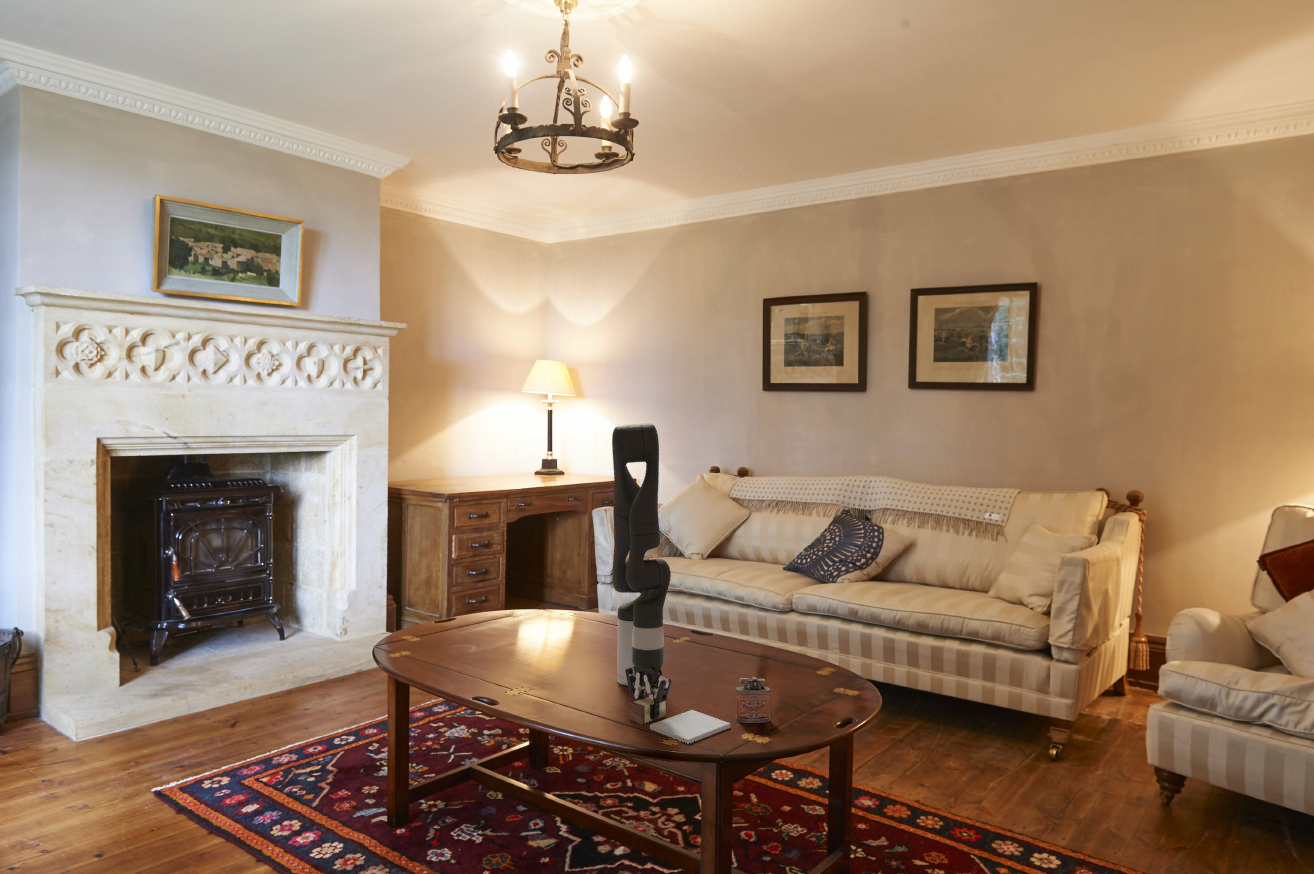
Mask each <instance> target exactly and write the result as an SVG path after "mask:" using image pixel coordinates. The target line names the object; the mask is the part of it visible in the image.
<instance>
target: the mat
mask: <svg viewBox="0 0 1314 874" xmlns="http://www.w3.org/2000/svg"><path fill="white" fill-rule="evenodd" d="M649 729H650V730H651V731H653V732H657V733H659V734H661V735H664V736H667V737H669V738H671V737H672V738H671V739H674V740H676V739H677V740H676V741H679V742H681V741H682V742H681V743H684V742H685V743H684V744H686V743H687V745H689V743H690V744H692V743H694V741H695V742H697V741H700V740H702V739H704V738H707V737H710V736H712V735H713V736H714V735H715V734H717V733H720V732H723V731H725V730H728V729H731V723H730V722H727V721H725V720H722V719H720V718H719V719H718V718H717V717H715V716H714V717H713V716H711V715H708V714H705V713H702V712H699V711H697V710H694V709H690V710H688V711H685V712H682V713H679V714H676V715H673V716H670V717H667V718H665V719H663V720H659V721H657V722H653V723H651V724H649Z"/></svg>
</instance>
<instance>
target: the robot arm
mask: <svg viewBox="0 0 1314 874" xmlns="http://www.w3.org/2000/svg"><path fill="white" fill-rule="evenodd" d="M659 441H660V440H659V435H658V430H657V428H656V426H655V425H654V424H653V423H639V424H638V423H637V424H636V423H635V424H622V425H617V426H615V428H613V430H612V437H611V446H612V447H611V449H612V461H613V462H612V465H613V484H614V485H613V507H612V508H613V517H612V518H613V536H614V537H613V538H614V539H613V540H614V541H613V542H614V543H613V559H612V573H611V574H612V575H611V576H612V585H613V588H614V590H615V592H617V593H624V594H626V593H628V594H630V593H632V594H638V593H640V594H639V595H638V596H637V597H636V598H635V599H634V600H632V601H629V602H627V603H623V604H621V605H619V607H618V608H617V649H616V650H617V654H616V655H617V656H616V657H617V665H616V666H617V668H616V669H617V671H616V672H617V673H616V674H617V680H616V681H617V683H618V684H619V685H621V686H628V691H629V694H630V695H634V698H635V701H637V700H641V699H644V698H646V697H645V696H646V693H647V695H648V697H650V703H651V704H650V719H652V721H655V720H657V718H658V717H659V715H660V711H659V710H660V703H661V702H664V701H666V702H667V699H668V695H669V692H670V688H671V685H672V679H671V678H666V677H665V676H663V675H664V674H663V671H662V666H663V665H664V662H665V661H664V660H665V659H664V658H665V655H664V653H665V647H664V646H665V634H664V633H665V632H664V605H665V603H666V602H665V601H666V598H667V593H668V591H669V587H670V583H671V577H672V572H671V568H670V565H669V564H668V562H667V561H666V560H664V559H663V558H653V559H652V558H651V559H650V558H648V557H646V558H645V555H646V553H647V552H648V551H650V550H653V549H656V548H659V546H660V544H661V534H660V532H661V531H660V520H659V502H658V501H659V481H660V480H659V477H660V472H659V471H660V442H659ZM630 463H633V464H634V463H645V473H644V478H643V481H642V483H641V486H640V485H639V484H638V483H637V481H636V480H635V479H634V478H633V476H632V474H631V473H630V471H629V468H628V467H627V464H630ZM653 688H654V689H653ZM654 695H655V696H656V698H654ZM654 719H655V720H654ZM658 719H659V718H658Z"/></svg>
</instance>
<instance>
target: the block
mask: <svg viewBox="0 0 1314 874" xmlns="http://www.w3.org/2000/svg"><path fill="white" fill-rule="evenodd" d="M654 698H656V696H655V694H654ZM666 703H667V700H666V701H664V702H661V703H660V710H659V711H660V715H659V717H658V718H657V719H661V718H664V717H666V714H667V713H666V707H667V705H666ZM650 704H651V703H650V697H649V696H647V697H645V698H644V699H641V700H637V701H636V700H634V701H632V702H629V710H628V711H629V715H628V716H629V717H628V718H629V719H630V720H629V721H631V720H633V721H632V722H634V721H635V722H634V723H636V722H638V723H637V724H639V723H640V724H639V725H643V723H644V724H647V723H649V721H650V722H651V721H655V720H657V719H654V720H652V719H650ZM646 722H647V723H646Z"/></svg>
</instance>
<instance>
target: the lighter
mask: <svg viewBox="0 0 1314 874" xmlns="http://www.w3.org/2000/svg"><path fill="white" fill-rule="evenodd" d="M738 685H740V686H736V687H735V693H736V699H735V701H736V707H735V708H736V709H735V710H736V711H735V712H736V713H735V721H736V722H737V723H746V724H748V723H751V724H752V723H753V724H754V723H755V724H756V723H759V724H760V723H768V722H770V720H771V716H770V693H771V688H770V687H768V686H765V685H766V679H765V678H757V677H756V676H752V677H751V678H749V677H741V678H739V679H738ZM742 685H743V686H742Z"/></svg>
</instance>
